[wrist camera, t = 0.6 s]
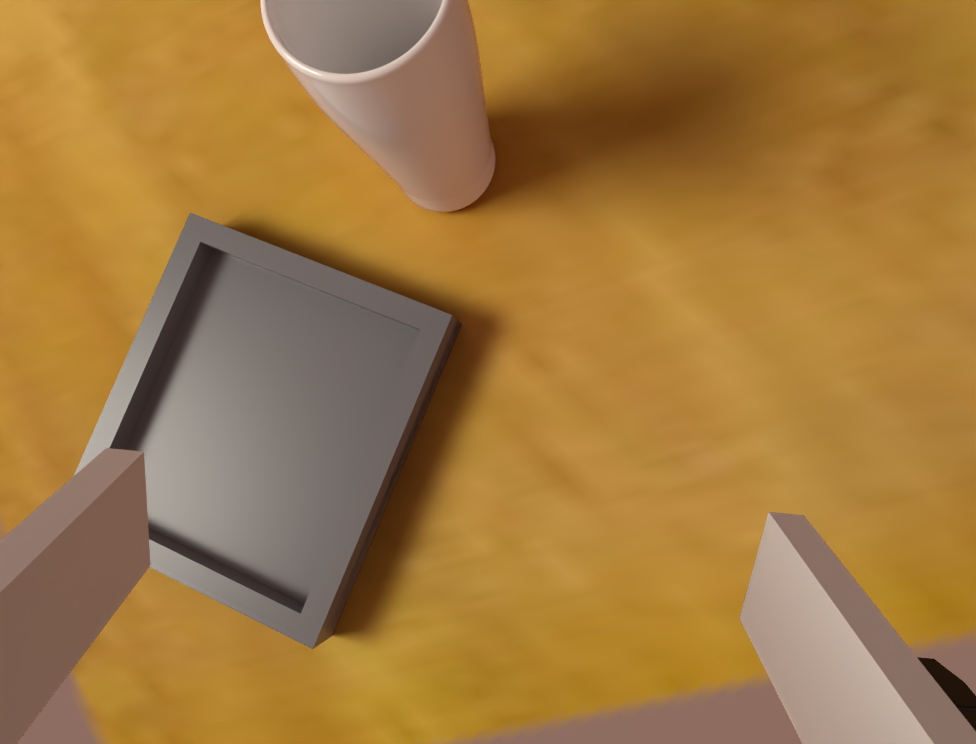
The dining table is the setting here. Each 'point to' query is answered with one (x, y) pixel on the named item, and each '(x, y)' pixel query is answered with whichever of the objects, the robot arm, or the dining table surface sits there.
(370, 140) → the drinking glass
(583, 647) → the dining table surface
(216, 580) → the serving tray
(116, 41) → the dining table surface
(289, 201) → the dining table surface
